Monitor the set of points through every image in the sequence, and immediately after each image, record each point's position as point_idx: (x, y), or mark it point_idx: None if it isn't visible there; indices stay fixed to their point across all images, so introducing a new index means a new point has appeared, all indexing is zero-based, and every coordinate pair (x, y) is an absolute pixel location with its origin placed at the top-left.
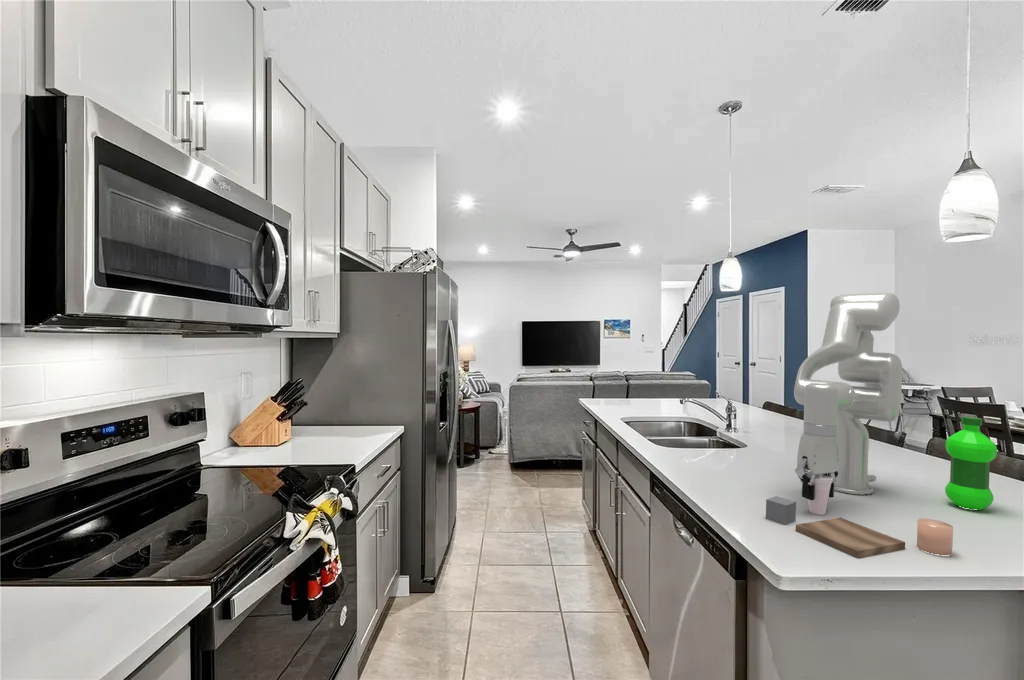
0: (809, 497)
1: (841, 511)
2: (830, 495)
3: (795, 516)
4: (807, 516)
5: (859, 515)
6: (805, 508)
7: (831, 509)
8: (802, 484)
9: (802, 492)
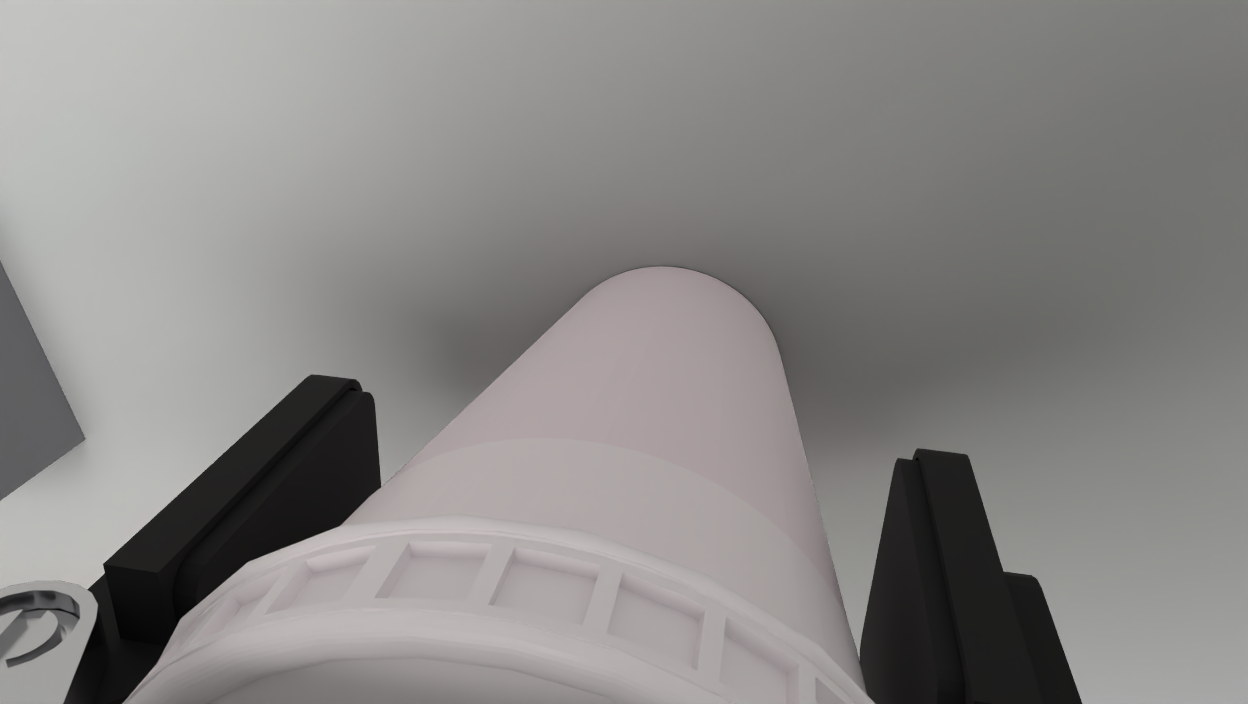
0: None
1: (1106, 508)
2: (866, 665)
3: (33, 471)
4: None
5: (1166, 696)
6: (651, 180)
7: (1053, 391)
8: (153, 527)
9: (275, 420)
